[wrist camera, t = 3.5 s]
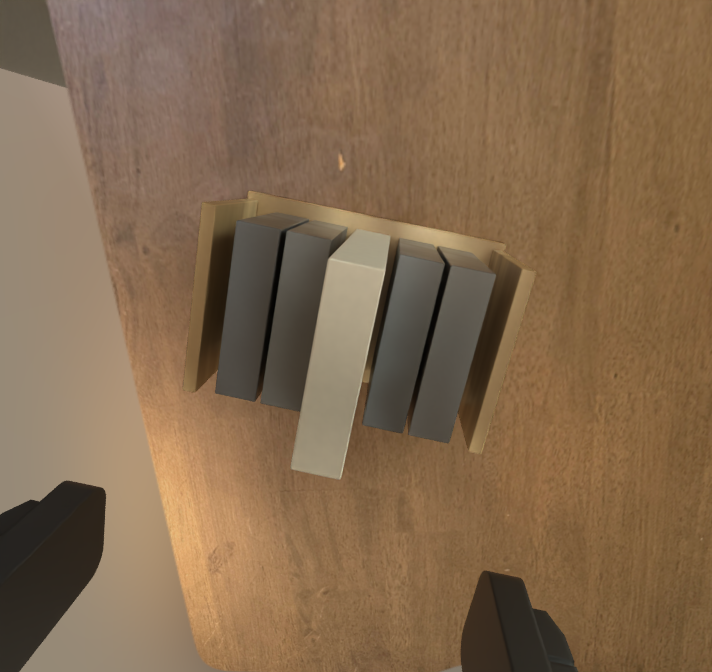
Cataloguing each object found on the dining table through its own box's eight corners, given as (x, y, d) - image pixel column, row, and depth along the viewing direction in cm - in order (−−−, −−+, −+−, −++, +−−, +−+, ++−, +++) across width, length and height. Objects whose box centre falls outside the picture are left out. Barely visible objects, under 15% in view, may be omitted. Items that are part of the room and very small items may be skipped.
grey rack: (231, 349, 39) (177, 401, 30) (252, 190, 36) (198, 192, 26) (460, 398, 39) (480, 466, 29) (503, 242, 35) (542, 263, 26)
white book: (330, 362, 38) (289, 469, 24) (356, 228, 35) (327, 257, 21) (362, 369, 38) (340, 481, 24) (390, 235, 35) (385, 269, 21)
